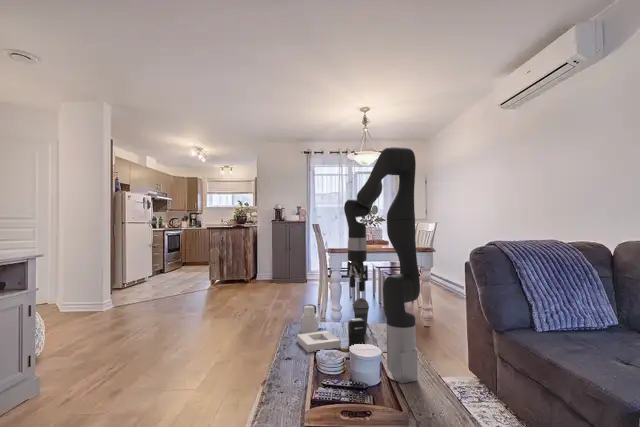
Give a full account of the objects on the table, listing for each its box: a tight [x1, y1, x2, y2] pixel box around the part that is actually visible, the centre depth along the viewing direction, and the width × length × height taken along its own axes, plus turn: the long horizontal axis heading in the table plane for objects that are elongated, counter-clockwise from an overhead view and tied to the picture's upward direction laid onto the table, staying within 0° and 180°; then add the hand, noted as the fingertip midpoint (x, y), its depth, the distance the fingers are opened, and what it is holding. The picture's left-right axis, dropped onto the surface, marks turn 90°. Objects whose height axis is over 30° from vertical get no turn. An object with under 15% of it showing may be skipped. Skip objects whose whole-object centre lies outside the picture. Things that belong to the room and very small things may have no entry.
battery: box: [347, 318, 367, 348], centre depth 149 cm, size 7×4×11 cm, turn 104°
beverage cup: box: [352, 288, 370, 335], centre depth 170 cm, size 7×7×20 cm
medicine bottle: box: [300, 304, 320, 334], centre depth 172 cm, size 7×7×12 cm
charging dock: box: [296, 330, 341, 353], centre depth 154 cm, size 14×14×3 cm
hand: (357, 289), depth 149 cm, fingers open, 8 cm apart
